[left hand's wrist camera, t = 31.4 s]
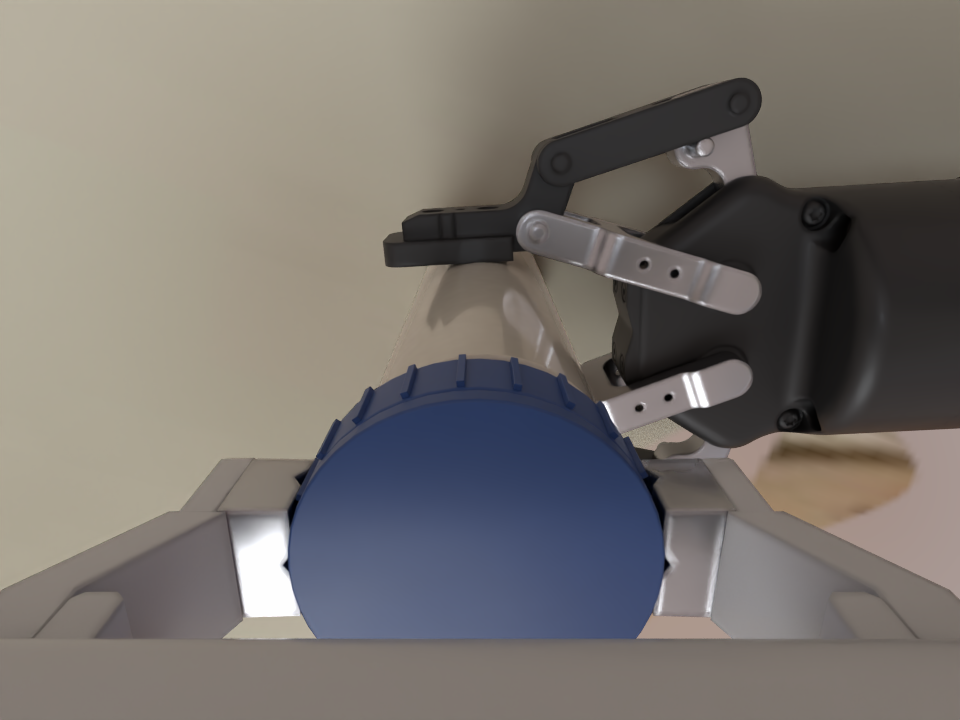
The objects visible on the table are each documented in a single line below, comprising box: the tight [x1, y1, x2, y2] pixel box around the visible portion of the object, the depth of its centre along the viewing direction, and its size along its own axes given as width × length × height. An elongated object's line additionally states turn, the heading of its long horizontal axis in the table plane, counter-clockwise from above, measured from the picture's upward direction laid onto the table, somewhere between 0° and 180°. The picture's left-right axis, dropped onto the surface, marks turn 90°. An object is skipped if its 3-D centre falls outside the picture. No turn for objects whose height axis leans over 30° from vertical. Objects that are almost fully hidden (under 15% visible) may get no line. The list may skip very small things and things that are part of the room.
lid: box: [288, 354, 665, 639], centre depth 9 cm, size 5×5×2 cm
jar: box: [379, 251, 596, 403], centre depth 18 cm, size 5×5×17 cm
